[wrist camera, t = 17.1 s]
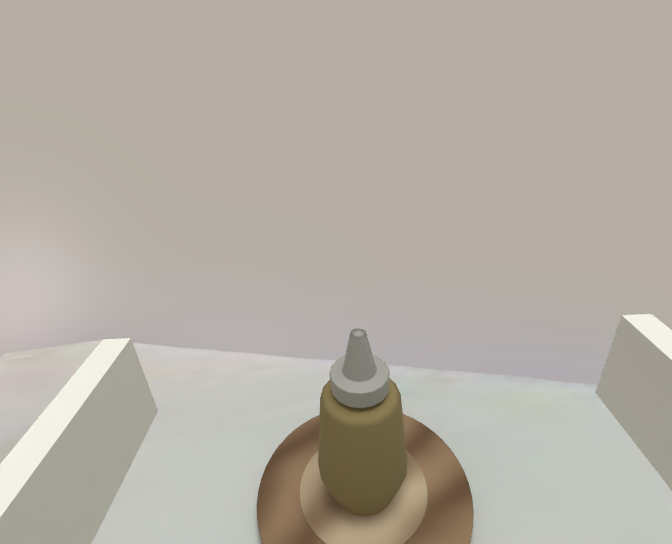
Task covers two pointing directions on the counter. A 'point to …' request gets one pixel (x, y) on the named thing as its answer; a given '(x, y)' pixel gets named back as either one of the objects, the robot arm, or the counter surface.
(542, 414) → the counter surface
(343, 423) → the squeeze bottle
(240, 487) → the counter surface
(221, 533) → the counter surface
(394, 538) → the walnut board
